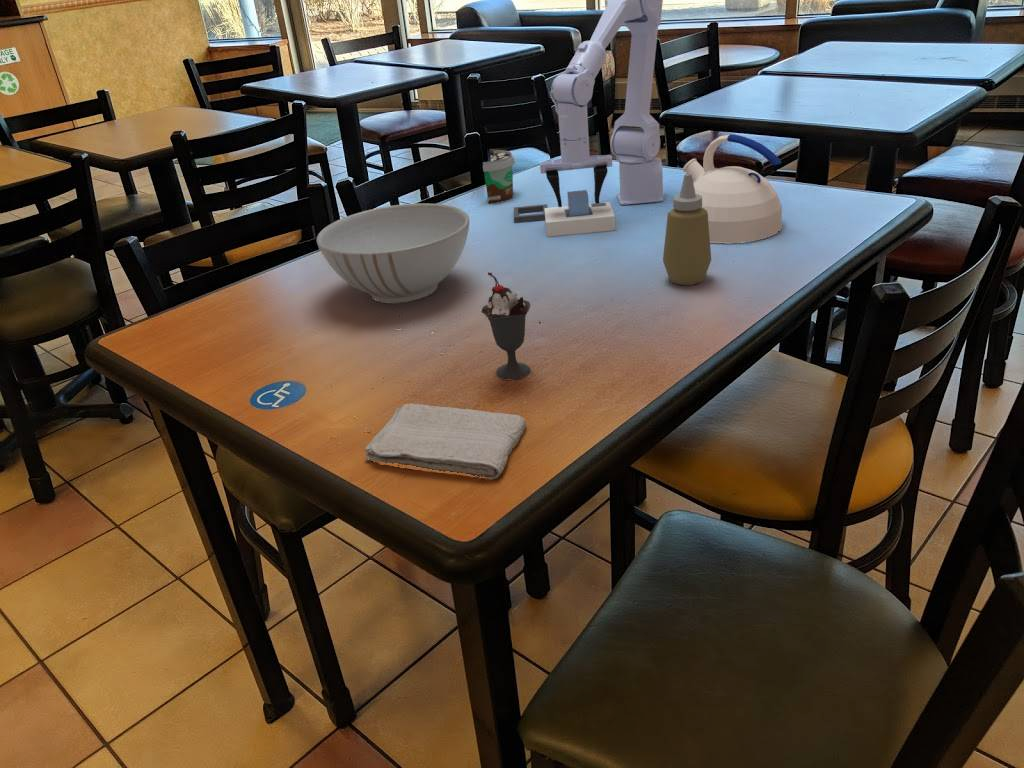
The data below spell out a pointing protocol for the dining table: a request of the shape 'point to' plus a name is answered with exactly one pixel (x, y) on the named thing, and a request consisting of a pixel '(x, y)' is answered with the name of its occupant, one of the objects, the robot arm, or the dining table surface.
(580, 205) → the plug
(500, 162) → the food container
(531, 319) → the dining table surface
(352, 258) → the decorative bowl
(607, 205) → the panel
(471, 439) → the washcloth
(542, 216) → the dark square tray
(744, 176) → the kettle
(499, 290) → the sundae
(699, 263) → the squeeze bottle
